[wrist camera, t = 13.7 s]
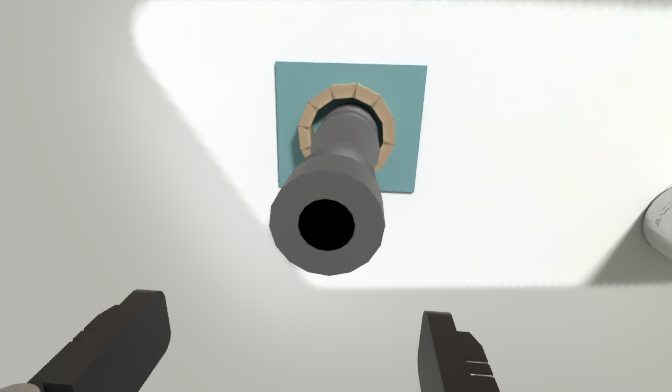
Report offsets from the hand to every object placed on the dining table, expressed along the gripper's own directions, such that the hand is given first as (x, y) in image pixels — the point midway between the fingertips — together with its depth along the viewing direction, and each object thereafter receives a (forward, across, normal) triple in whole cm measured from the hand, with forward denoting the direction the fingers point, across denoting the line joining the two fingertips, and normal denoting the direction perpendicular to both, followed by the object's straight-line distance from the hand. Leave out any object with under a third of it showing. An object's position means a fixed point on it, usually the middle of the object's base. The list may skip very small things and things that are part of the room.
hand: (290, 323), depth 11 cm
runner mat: (+33, 0, 0) cm, 33 cm away
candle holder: (+32, 0, 0) cm, 32 cm away
